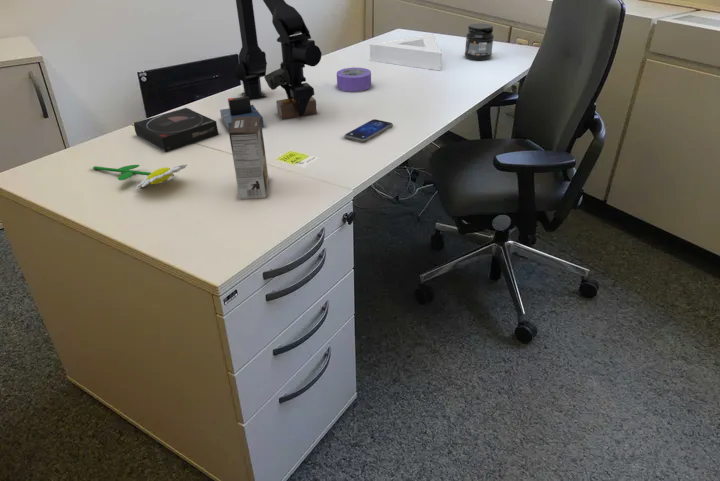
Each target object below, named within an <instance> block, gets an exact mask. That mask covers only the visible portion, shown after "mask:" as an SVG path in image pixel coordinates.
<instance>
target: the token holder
mask: <svg viewBox="0 0 720 481" xmlns="http://www.w3.org/2000/svg"><path fill="white" fill-rule="evenodd" d="M275 104H276V112H277V116H278V117H279V118H280V119H281V120H288V119H294V118H300V117H301V118H302V117H307V116H313V115H317V114H318V113H317V100H316V98H315V97H313V96H312V97H311V98H310V100H309V102H308V105H307V107H306V110H305V112H304V115H303V116H299V113H298V109H297V105H296V101H295V100H294V99H293V98H289V99H288V98H284V99H277V100H276V102H275Z"/></svg>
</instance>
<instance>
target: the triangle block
mask: <svg viewBox="0 0 720 481" xmlns="http://www.w3.org/2000/svg"><path fill="white" fill-rule="evenodd" d="M369 61H370V62H374V63H375V62H376V63H383V64H390V65H396V66H404V67H411V68H417V69H424V70H425V69H427V70H433V71H439V72H440V71H441V67H442V51H441V49H440V46H439V44H438V41H437V40H436V37H435V35H434V33H432V34H431V33H430V34H425V35H417V36H413V37H406V38H400V39H394V40H388V41H381V42H374V43H370V44H369Z"/></svg>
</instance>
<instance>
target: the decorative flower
mask: <svg viewBox="0 0 720 481" xmlns="http://www.w3.org/2000/svg"><path fill="white" fill-rule="evenodd" d="M187 166H188V164H179V165H175V166H173V167H161V168H158V169H155V170H154V171H152V172H150V171H149V172H148V171H139V170H135V169H136V168H139V167H140V164H130V165H125V166H121V167H118V168H115V167H105V166H97V165H94V166H93V170H98V171H106V172H114V173H115V172H116V173H121V174H119V176H118V177H117V180H118V181H125V180H128V179H130V178H131V177H132V176H133V175H138V176H139V175H140V176H146V177H144V179H142V181H140V182H139V184H137V185H136V187H135V189H134V192H136V191H138V190H139V189H140V188H144V187H146V186H147V185H158V184H161V183H164V182H166V181H167V180H168V179H170V178H173V177H175V174H174V173H178V172H180V171H181V170H184V169H186V168H187Z"/></svg>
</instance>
